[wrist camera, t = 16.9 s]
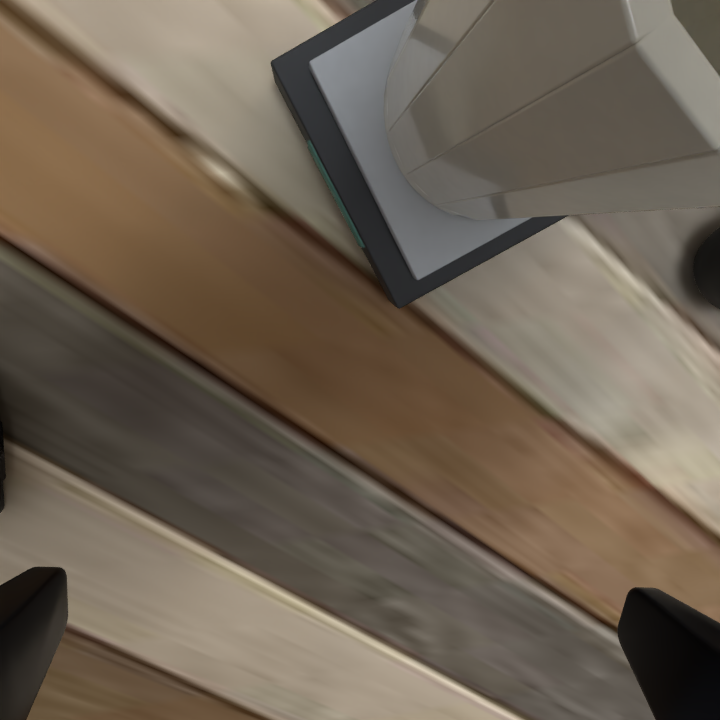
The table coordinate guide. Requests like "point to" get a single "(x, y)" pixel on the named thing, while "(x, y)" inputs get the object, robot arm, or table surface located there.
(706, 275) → the egg
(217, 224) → the table surface
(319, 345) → the table surface
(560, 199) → the tumbler
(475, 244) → the scale
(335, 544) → the table surface
